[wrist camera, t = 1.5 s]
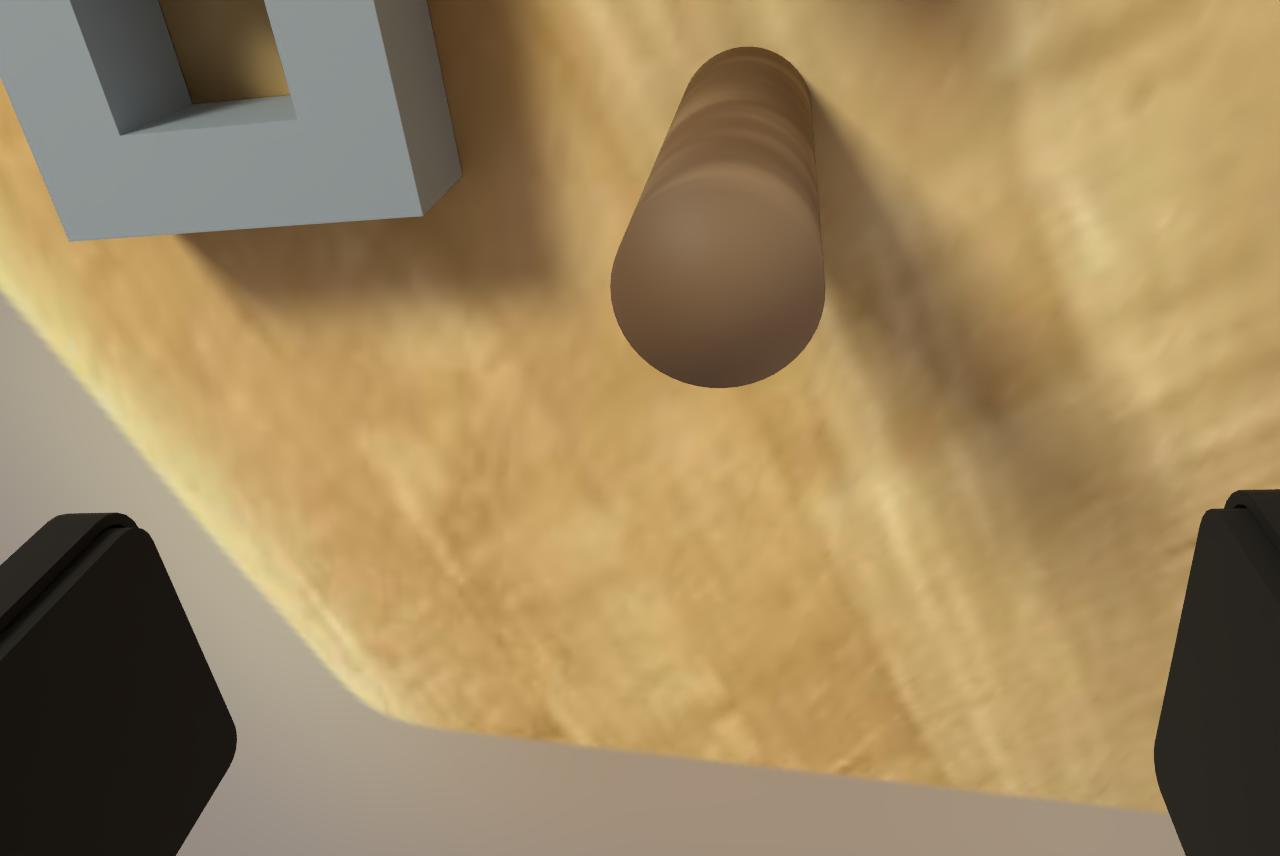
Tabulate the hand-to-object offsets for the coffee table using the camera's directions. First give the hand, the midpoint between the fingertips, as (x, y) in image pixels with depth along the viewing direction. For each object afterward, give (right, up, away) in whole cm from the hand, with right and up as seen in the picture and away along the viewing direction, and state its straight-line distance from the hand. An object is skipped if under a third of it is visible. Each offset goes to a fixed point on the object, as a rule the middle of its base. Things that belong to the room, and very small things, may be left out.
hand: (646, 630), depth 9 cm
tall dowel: (+3, +10, +17) cm, 20 cm away
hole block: (-11, +13, +17) cm, 24 cm away
